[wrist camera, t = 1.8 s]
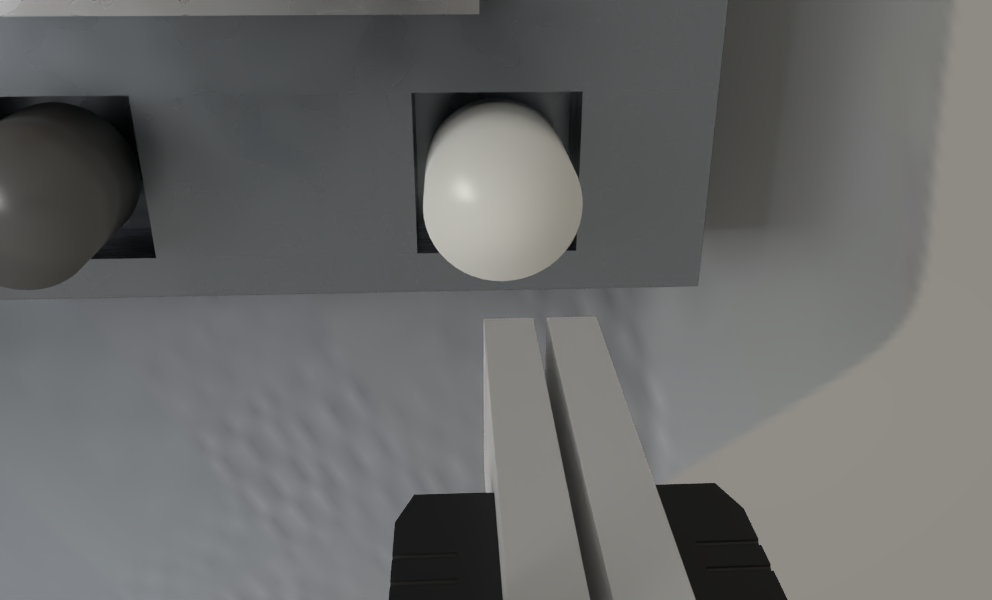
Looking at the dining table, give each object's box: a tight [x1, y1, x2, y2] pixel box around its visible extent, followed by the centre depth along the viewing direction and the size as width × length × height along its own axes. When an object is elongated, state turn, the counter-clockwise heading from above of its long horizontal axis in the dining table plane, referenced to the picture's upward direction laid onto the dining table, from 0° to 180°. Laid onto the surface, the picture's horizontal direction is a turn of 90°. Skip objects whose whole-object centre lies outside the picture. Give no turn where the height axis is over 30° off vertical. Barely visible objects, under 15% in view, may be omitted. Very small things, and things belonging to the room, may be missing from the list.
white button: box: [423, 98, 583, 281], centre depth 24 cm, size 4×4×4 cm
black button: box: [0, 102, 141, 290], centre depth 23 cm, size 4×4×4 cm
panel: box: [0, 0, 728, 300], centre depth 25 cm, size 24×14×5 cm, turn 90°
